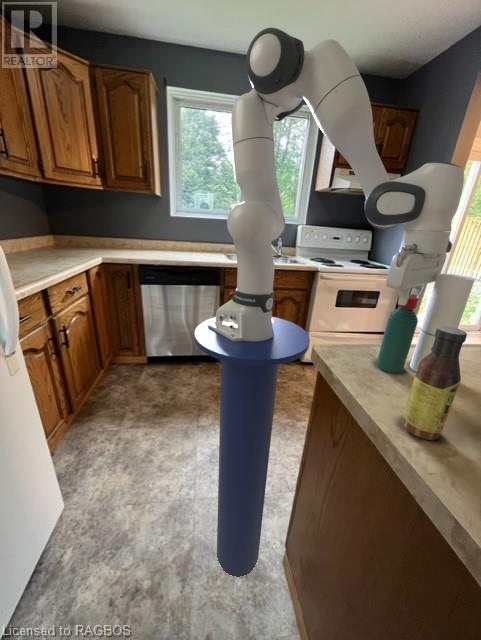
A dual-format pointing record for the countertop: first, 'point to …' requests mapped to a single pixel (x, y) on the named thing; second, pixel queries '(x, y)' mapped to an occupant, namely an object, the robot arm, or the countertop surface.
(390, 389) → the countertop surface
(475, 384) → the countertop surface
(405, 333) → the water bottle
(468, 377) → the countertop surface
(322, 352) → the countertop surface
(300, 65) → the robot arm
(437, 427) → the sauce bottle
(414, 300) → the cap
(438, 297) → the cylindrical container
